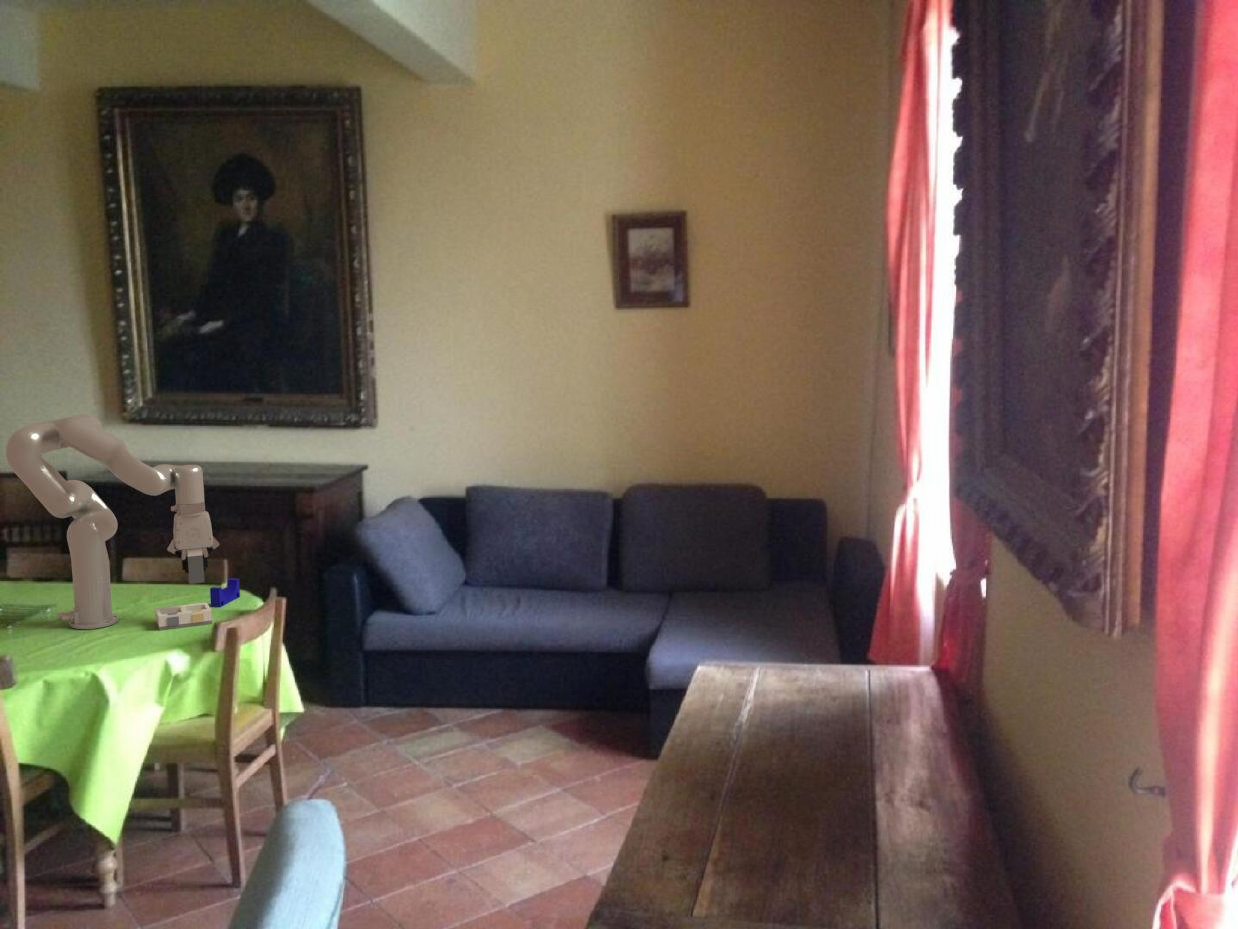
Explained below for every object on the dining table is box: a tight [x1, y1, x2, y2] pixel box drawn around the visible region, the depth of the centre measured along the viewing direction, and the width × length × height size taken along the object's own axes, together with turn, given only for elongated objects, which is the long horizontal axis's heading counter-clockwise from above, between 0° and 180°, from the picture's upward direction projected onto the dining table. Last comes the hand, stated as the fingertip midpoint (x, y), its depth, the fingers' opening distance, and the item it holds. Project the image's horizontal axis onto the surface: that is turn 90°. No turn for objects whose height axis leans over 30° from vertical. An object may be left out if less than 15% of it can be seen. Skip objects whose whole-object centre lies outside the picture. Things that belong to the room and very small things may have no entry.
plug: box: [186, 548, 206, 585], centre depth 304 cm, size 4×4×10 cm
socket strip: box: [154, 602, 213, 631], centre depth 304 cm, size 14×9×4 cm, turn 119°
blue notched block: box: [209, 577, 241, 608], centre depth 327 cm, size 12×4×6 cm, turn 171°
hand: (195, 570), depth 304 cm, fingers closed on plug, 4 cm apart
